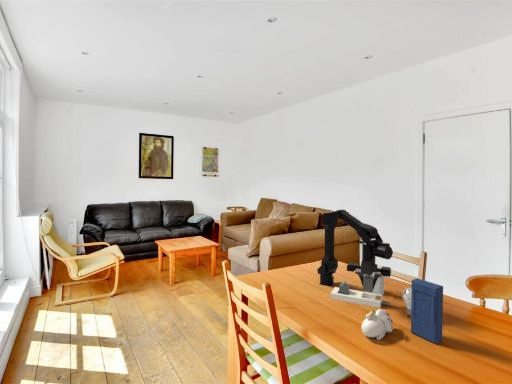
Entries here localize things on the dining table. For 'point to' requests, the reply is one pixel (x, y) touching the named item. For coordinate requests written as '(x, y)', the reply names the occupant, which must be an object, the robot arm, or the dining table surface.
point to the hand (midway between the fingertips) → (368, 287)
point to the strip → (359, 298)
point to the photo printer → (378, 285)
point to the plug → (368, 283)
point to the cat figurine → (377, 324)
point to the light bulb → (407, 299)
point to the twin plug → (344, 288)
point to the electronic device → (427, 310)
